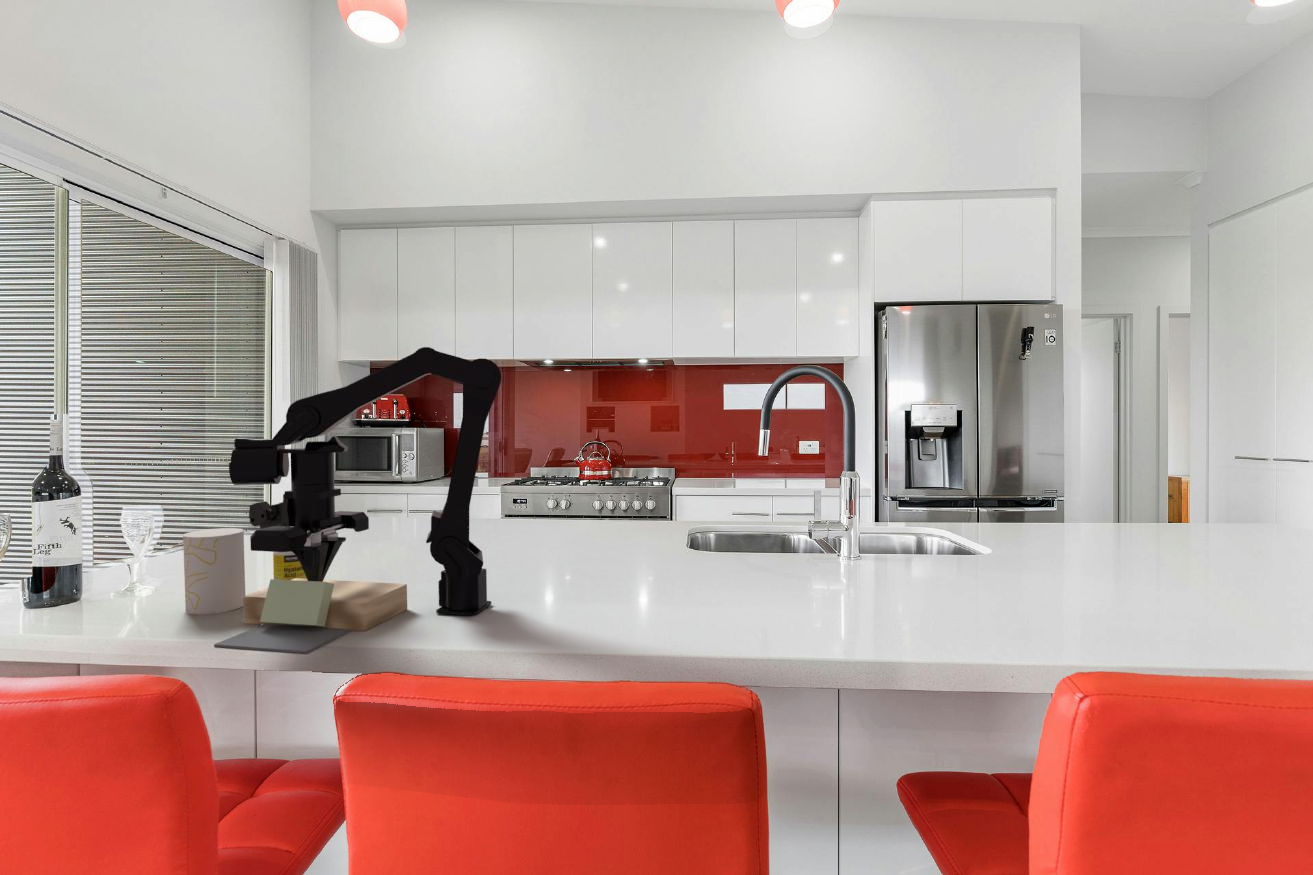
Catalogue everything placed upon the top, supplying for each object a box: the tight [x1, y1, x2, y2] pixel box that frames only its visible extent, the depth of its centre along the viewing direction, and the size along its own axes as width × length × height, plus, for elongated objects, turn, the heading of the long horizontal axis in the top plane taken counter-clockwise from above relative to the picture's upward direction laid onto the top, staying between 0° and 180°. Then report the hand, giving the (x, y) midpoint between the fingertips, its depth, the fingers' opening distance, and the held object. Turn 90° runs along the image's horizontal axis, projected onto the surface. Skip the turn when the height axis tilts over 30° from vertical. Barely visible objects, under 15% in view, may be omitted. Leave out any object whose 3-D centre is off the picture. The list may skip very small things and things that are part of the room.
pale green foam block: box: [260, 578, 334, 627], centre depth 99 cm, size 9×6×2 cm
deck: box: [242, 578, 408, 632], centre depth 106 cm, size 20×11×4 cm, turn 79°
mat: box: [213, 624, 351, 654], centre depth 96 cm, size 14×9×1 cm, turn 79°
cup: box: [182, 527, 246, 615], centre depth 111 cm, size 8×8×12 cm
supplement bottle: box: [272, 551, 307, 580], centre depth 122 cm, size 5×5×10 cm
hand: (315, 587), depth 103 cm, fingers closed
